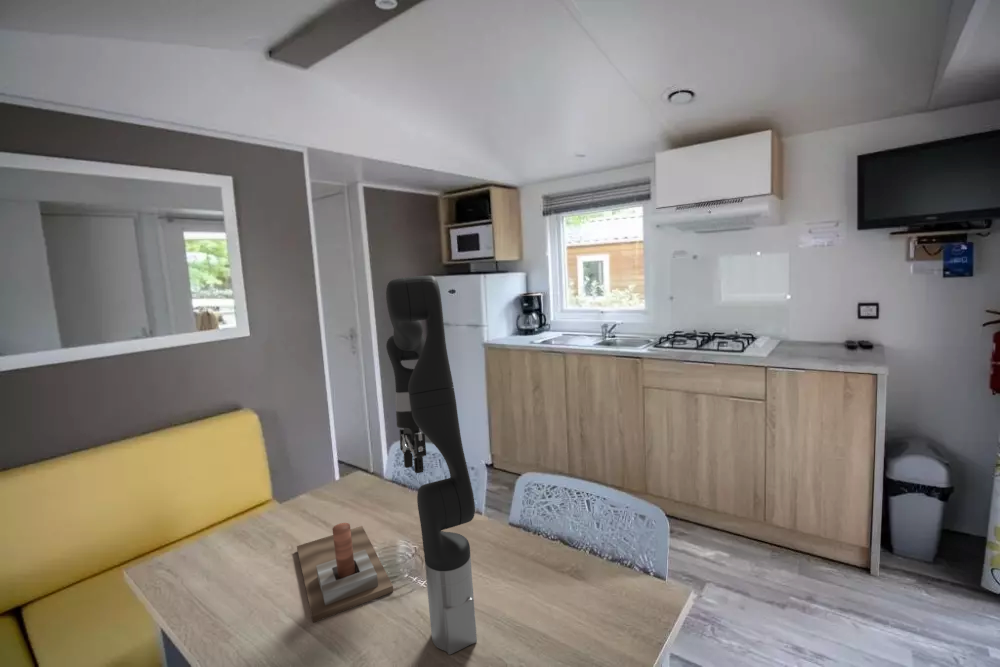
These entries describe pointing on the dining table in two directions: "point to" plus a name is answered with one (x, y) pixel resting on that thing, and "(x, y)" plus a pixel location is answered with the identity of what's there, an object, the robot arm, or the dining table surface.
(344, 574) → the pin
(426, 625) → the dining table surface
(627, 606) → the dining table surface
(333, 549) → the socket board
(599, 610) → the dining table surface
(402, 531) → the dining table surface
